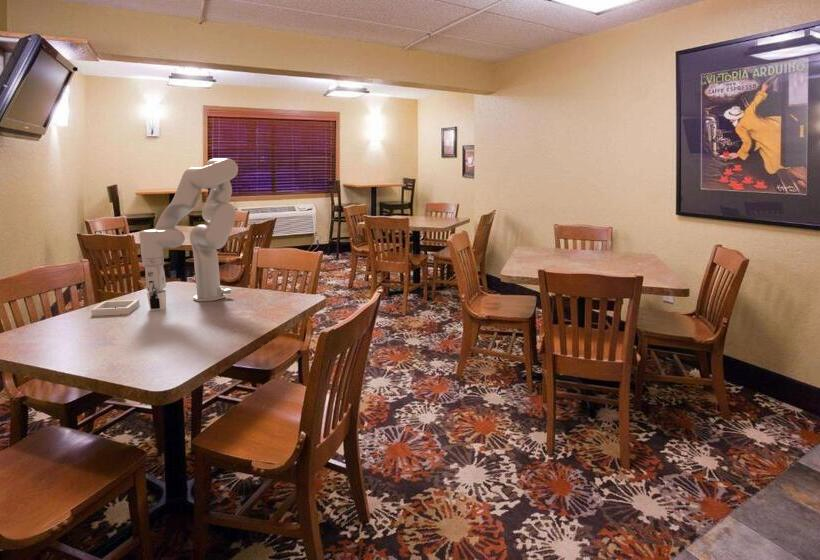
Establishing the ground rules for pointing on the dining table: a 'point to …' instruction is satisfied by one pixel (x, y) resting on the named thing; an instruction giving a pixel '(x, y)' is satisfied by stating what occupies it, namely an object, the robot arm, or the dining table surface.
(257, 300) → the dining table surface
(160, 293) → the shot glass
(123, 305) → the box
